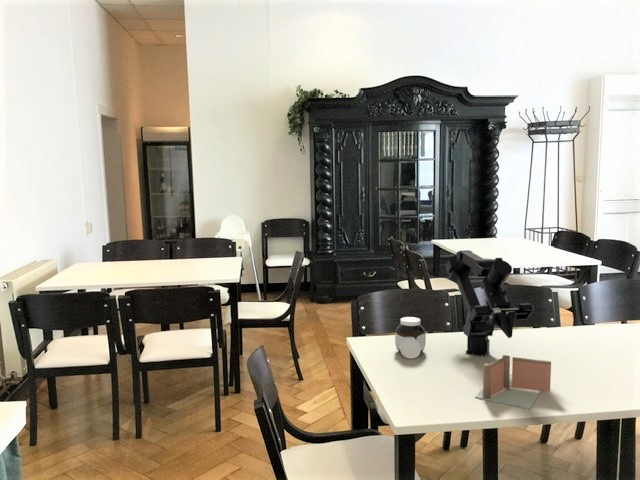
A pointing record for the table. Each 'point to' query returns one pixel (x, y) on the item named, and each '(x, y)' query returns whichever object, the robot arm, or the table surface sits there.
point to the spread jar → (410, 337)
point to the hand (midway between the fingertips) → (510, 337)
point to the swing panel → (527, 373)
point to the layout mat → (513, 396)
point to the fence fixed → (493, 378)
